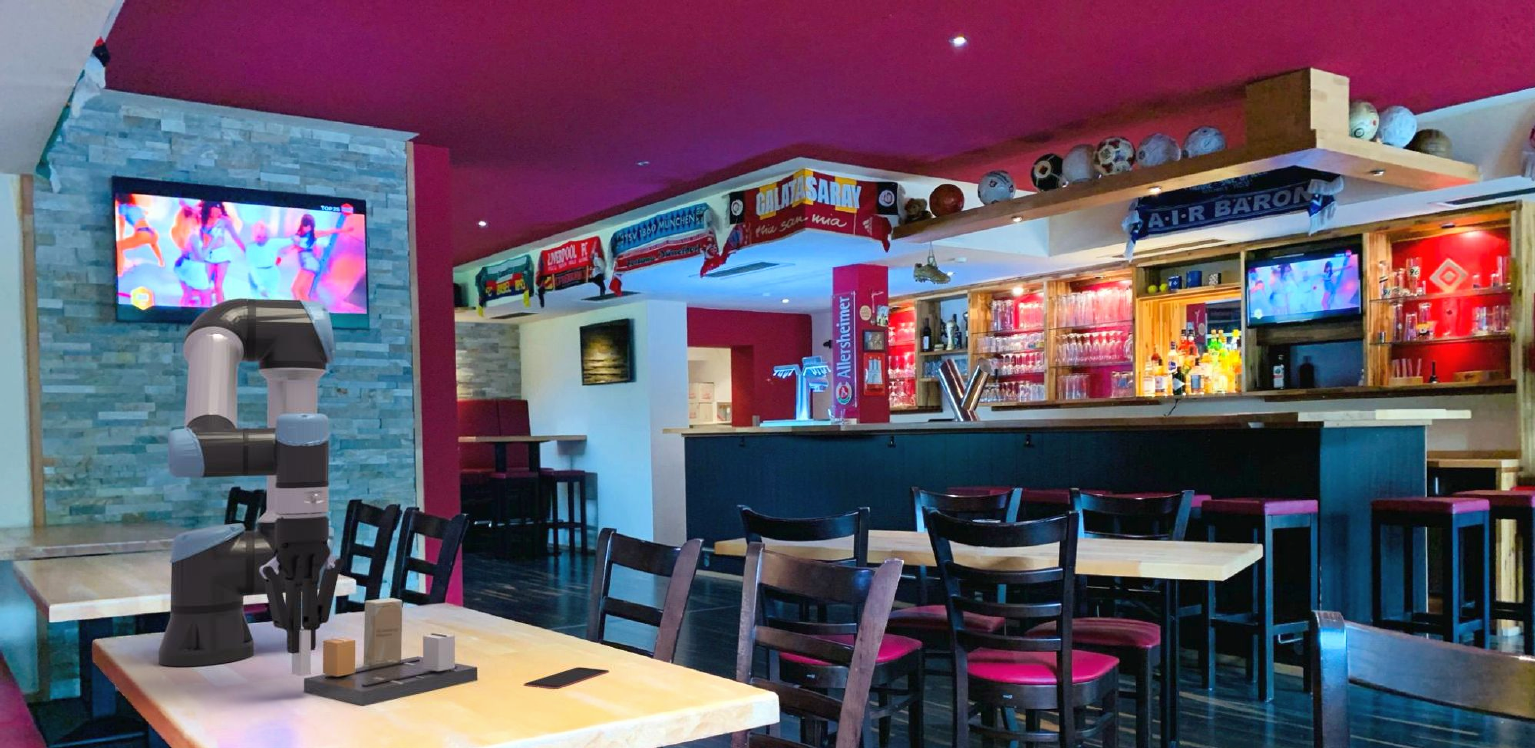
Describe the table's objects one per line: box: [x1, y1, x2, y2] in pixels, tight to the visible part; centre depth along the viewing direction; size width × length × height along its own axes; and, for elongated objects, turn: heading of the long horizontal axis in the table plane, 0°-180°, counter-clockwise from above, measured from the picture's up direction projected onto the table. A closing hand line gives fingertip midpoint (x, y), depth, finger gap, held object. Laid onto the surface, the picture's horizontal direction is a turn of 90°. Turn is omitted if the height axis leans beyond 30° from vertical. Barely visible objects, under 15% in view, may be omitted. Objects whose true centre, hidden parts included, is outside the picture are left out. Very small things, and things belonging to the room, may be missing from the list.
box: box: [363, 597, 403, 666], centre depth 187 cm, size 5×4×11 cm
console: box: [303, 656, 478, 707], centre depth 171 cm, size 17×20×2 cm
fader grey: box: [422, 632, 456, 671], centre depth 172 cm, size 4×3×5 cm
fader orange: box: [322, 637, 356, 677], centre depth 170 cm, size 4×3×5 cm
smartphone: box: [523, 666, 610, 690], centre depth 174 cm, size 7×1×14 cm
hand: (301, 673), depth 165 cm, fingers closed
